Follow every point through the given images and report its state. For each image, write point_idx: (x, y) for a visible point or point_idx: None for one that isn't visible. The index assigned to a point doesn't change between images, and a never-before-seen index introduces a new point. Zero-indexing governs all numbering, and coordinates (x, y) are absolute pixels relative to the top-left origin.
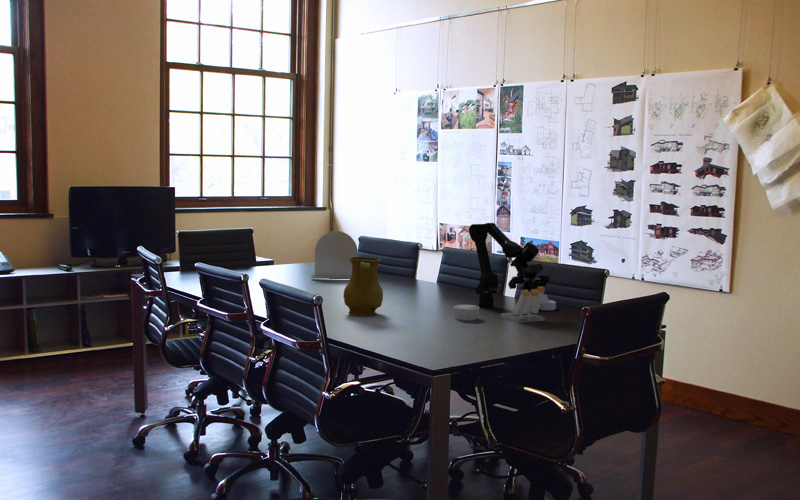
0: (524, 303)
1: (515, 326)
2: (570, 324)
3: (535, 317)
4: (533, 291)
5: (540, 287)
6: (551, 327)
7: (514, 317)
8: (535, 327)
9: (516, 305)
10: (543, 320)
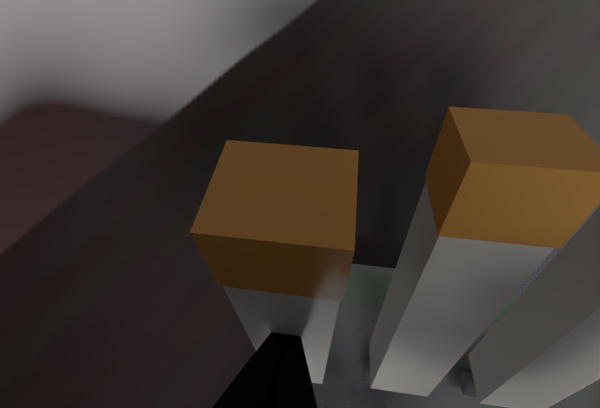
0: (545, 280)
1: None
2: (213, 109)
3: (354, 271)
4: (569, 129)
5: (308, 189)
6: (378, 90)
7: None
8: None
9: (593, 375)
10: None
